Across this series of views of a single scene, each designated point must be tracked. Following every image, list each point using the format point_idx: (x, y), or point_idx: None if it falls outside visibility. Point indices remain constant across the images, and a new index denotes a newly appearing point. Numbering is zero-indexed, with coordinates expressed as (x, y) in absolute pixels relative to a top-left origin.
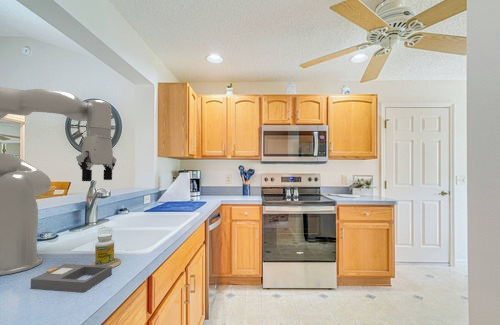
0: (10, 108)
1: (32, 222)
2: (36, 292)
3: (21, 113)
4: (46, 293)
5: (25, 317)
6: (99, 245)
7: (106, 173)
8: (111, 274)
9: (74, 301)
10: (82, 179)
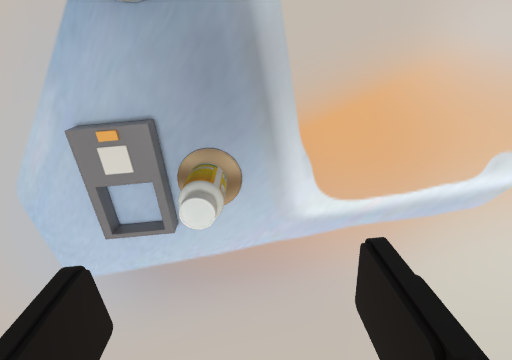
0: None
1: None
2: None
3: None
4: None
5: (33, 212)
6: (179, 206)
7: (394, 333)
8: (177, 223)
9: (90, 237)
10: (56, 281)
